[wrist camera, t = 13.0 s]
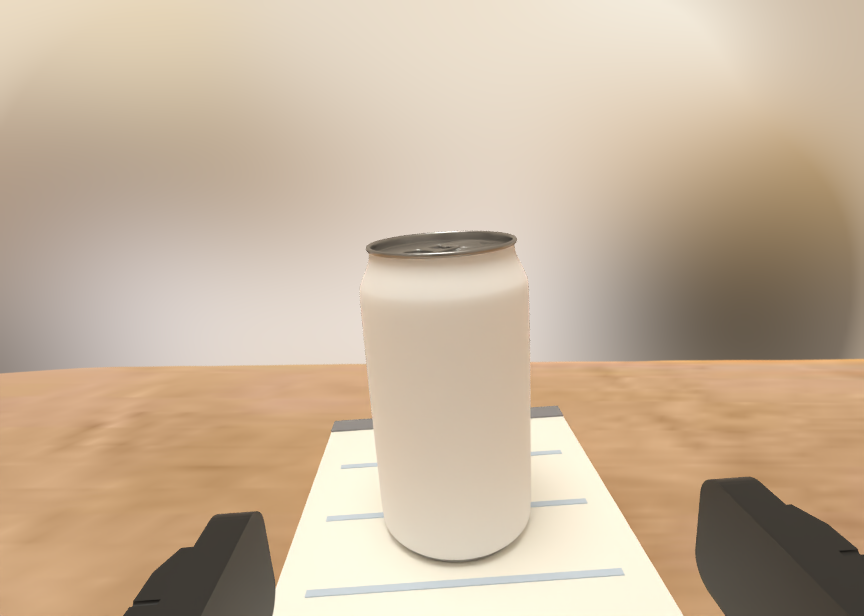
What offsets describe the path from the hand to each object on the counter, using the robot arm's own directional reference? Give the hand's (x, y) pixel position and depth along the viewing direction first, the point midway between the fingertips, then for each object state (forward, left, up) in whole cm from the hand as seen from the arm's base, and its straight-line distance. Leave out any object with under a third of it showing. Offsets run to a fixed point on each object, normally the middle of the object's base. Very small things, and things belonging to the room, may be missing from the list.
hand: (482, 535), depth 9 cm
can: (0, +11, -8) cm, 13 cm away
